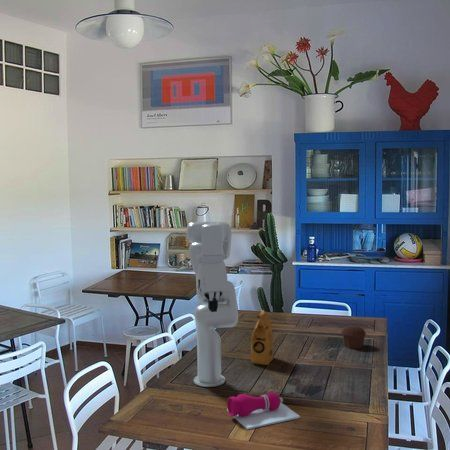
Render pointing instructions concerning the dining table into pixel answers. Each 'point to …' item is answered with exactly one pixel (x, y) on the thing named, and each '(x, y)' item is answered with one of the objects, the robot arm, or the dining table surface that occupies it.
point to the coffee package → (262, 341)
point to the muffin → (353, 336)
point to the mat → (266, 417)
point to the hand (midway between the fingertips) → (213, 310)
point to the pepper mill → (252, 403)
